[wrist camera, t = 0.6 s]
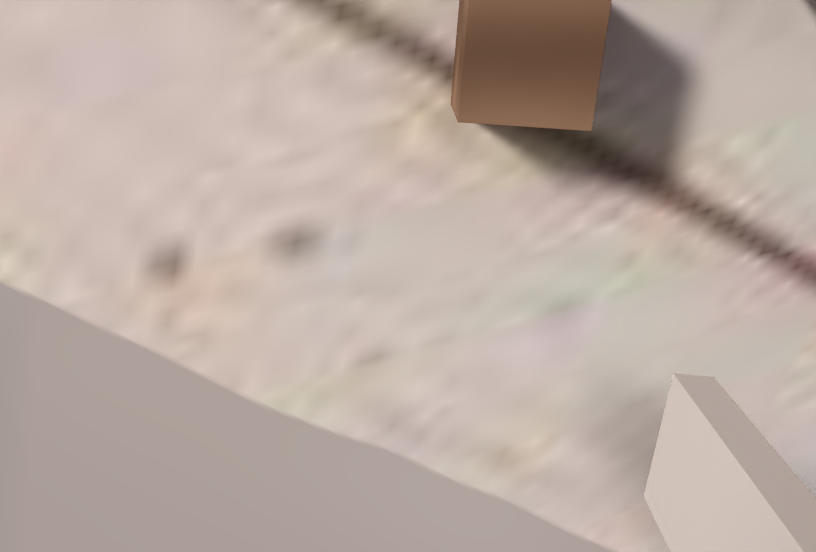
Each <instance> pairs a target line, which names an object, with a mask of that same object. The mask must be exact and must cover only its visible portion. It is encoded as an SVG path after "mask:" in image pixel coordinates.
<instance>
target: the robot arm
mask: <svg viewBox="0 0 816 552" xmlns="http://www.w3.org/2000/svg"><path fill="white" fill-rule="evenodd" d="M644 498H645V500H646V502H647V504H648V506H649V508H650V510H651V512H652V514H653V517H654V519H655V521H656V523H657V525H658V527H659V529H660V531H661V533H662V535H663V537H664V540H665V542H666V544H667V546H668V548H669V550H670V552H816V498H815V497H814V496H813V495H812V493H811V492H810V491H809V490H808V489H807V487H806V486H805V485H804V484H803V483H802V481H801V480H800V479H799V478H798V477H797V475H796V474H795V473H794V472H793V471H792V469H791V468H790V467H789V466H788V465H787V464H786V462H785V461H784V460H783V459H782V458H781V456H780V455H779V454H778V453H777V452H776V450H775V449H774V448H773V447H772V446H771V444H770V443H769V442H768V441H767V440H766V439H765V437H764V436H763V435H762V434H761V433H760V431H759V430H758V429H757V428H756V427H755V425H754V424H753V423H752V422H751V421H750V419H749V418H748V417H747V416H746V415H745V413H744V412H743V411H742V410H741V409H740V408H739V406H738V405H737V404H736V403H735V402H734V400H733V399H732V398H731V397H730V396H729V394H728V393H727V392H726V391H725V390H724V388H723V387H722V386H721V385H720V384H719V383H718V381H717V380H716V379H715V378H714V377H708V376H696V375H685V374H673V377H672V381H671V385H670V390H669V394H668V398H667V402H666V406H665V410H664V414H663V418H662V423H661V427H660V431H659V435H658V439H657V443H656V447H655V451H654V456H653V460H652V464H651V468H650V472H649V476H648V480H647V484H646V489H645V493H644Z"/></svg>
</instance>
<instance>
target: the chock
mask: <svg viewBox="0 0 816 552" xmlns="http://www.w3.org/2000/svg"><path fill="white" fill-rule="evenodd" d="M610 7H611V0H459V12H458V24H457V36H456V48H455V60H454V72H453V84H452V96H451V106H452V108H453V111H454V113H455V116H456V118H457V121H458V122H464V123H479V124H494V125H509V126H524V127H539V128H554V129H569V130H583V131H592V124H593V118H594V111H595V105H596V98H597V92H598V85H599V79H600V72H601V65H602V59H603V52H604V46H605V39H606V33H607V26H608V20H609V13H610Z"/></svg>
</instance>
